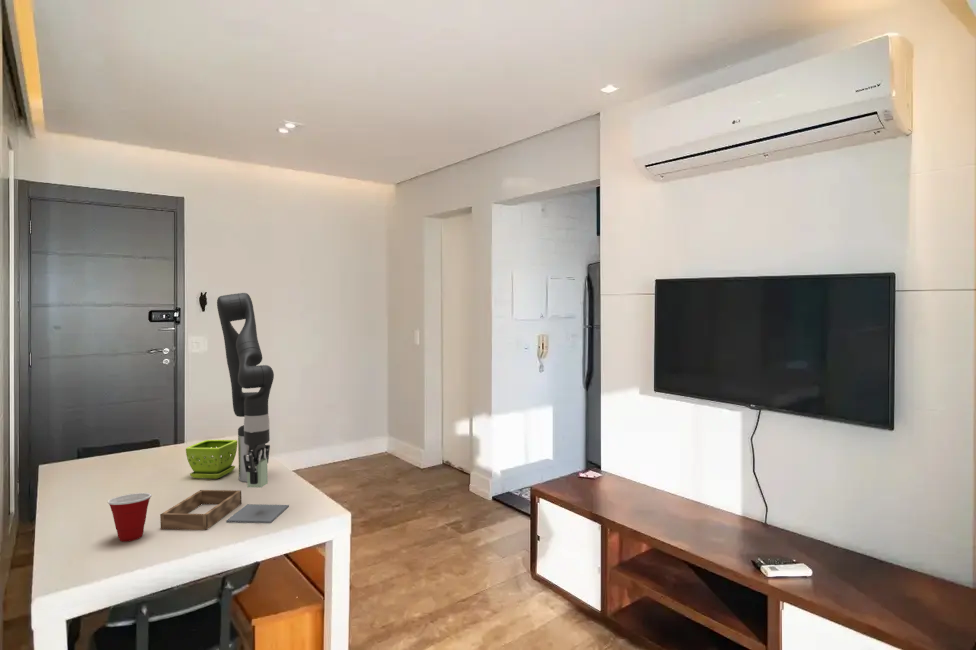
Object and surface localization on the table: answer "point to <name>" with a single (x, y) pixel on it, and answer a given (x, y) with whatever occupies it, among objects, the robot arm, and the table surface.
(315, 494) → the table surface
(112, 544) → the table surface
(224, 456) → the flower pot
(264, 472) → the sage block
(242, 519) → the slate mat
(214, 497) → the wooden frame
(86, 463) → the table surface
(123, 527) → the plastic cup
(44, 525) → the table surface
